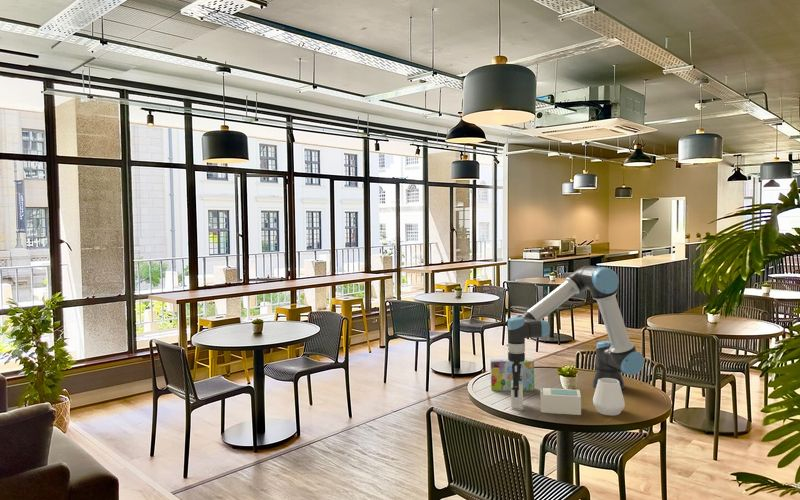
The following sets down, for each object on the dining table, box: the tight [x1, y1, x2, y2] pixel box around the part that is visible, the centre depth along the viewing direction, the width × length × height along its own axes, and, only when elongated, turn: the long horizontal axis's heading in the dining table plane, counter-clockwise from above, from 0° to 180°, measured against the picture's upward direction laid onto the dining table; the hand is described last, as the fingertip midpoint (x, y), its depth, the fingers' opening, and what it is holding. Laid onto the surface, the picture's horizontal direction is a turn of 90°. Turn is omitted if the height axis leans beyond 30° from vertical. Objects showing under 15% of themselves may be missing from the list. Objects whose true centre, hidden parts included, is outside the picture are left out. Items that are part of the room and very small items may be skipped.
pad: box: [509, 407, 524, 411], centre depth 253 cm, size 6×7×1 cm
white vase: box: [592, 378, 626, 416], centre depth 244 cm, size 13×13×14 cm
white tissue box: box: [540, 387, 582, 416], centre depth 248 cm, size 17×10×8 cm, turn 76°
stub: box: [510, 380, 524, 409], centre depth 253 cm, size 5×4×11 cm
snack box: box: [489, 358, 535, 392], centre depth 279 cm, size 21×6×15 cm, turn 84°
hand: (516, 399), depth 253 cm, fingers open, 11 cm apart
